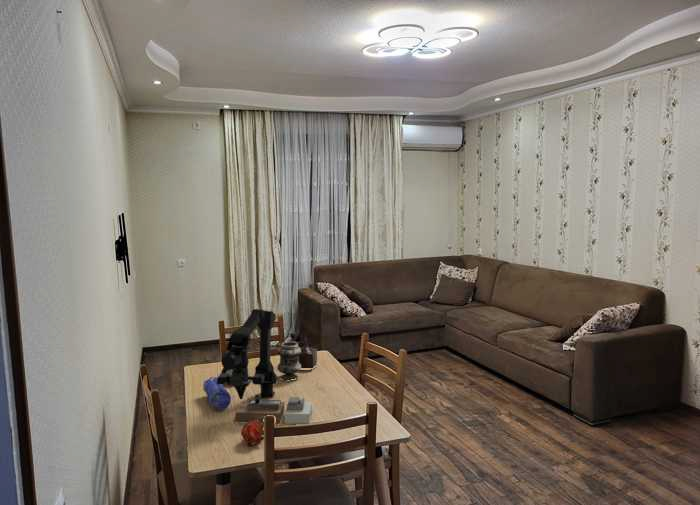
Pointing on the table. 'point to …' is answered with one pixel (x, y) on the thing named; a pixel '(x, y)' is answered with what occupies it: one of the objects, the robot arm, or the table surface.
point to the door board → (259, 411)
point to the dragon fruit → (253, 432)
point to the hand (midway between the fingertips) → (241, 398)
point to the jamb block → (298, 411)
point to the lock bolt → (258, 401)
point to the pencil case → (216, 394)
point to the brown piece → (306, 354)
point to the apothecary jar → (289, 360)
